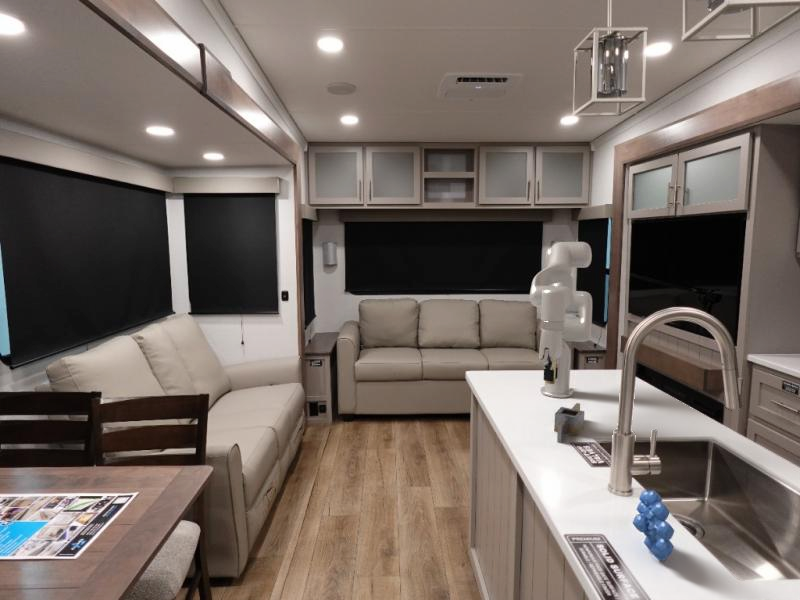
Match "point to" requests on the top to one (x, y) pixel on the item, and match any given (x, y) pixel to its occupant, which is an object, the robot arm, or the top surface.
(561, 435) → the hinge
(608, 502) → the top surface
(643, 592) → the top surface
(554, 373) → the hinge pin
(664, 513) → the grapes
